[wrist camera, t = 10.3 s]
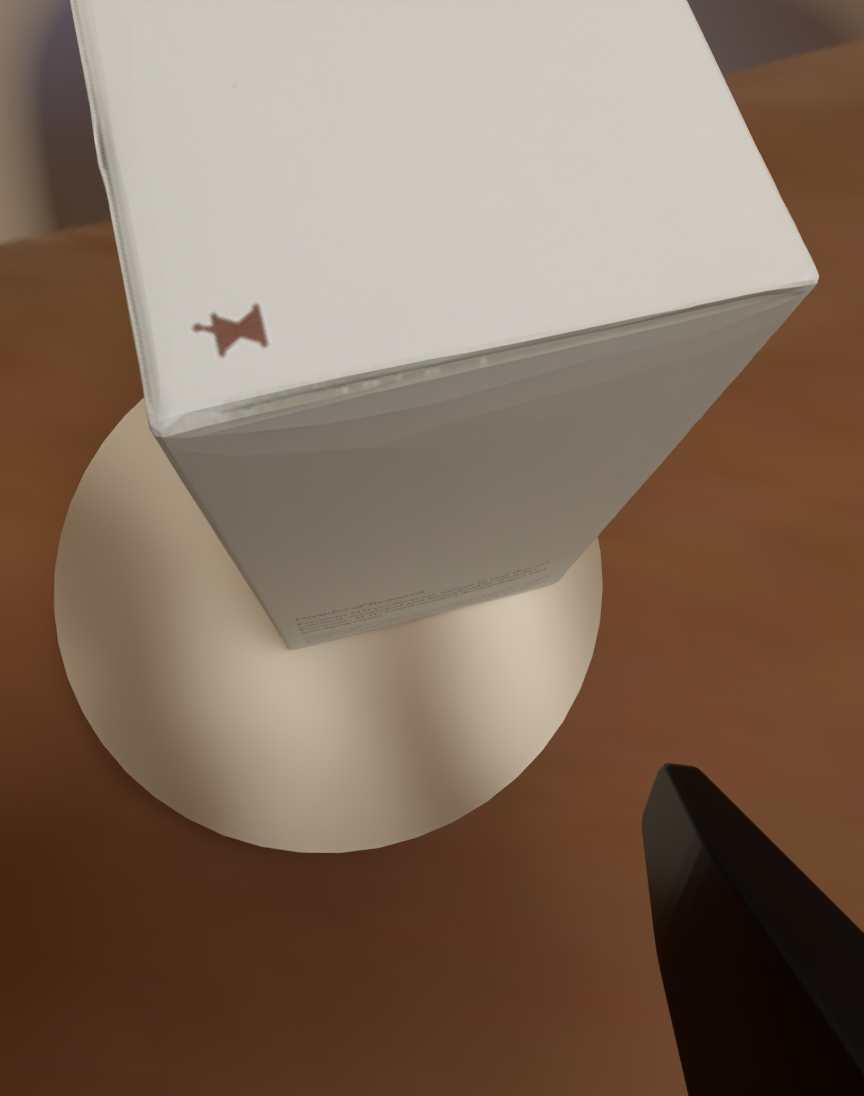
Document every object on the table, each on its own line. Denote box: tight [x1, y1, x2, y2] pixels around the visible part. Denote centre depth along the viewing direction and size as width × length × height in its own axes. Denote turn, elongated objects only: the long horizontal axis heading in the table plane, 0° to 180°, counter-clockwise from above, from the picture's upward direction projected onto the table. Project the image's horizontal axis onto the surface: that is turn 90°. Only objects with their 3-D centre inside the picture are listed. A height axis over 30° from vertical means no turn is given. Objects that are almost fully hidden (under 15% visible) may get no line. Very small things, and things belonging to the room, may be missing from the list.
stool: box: [54, 398, 603, 853], centre depth 22 cm, size 14×14×4 cm
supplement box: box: [70, 0, 819, 650], centre depth 14 cm, size 7×7×13 cm
